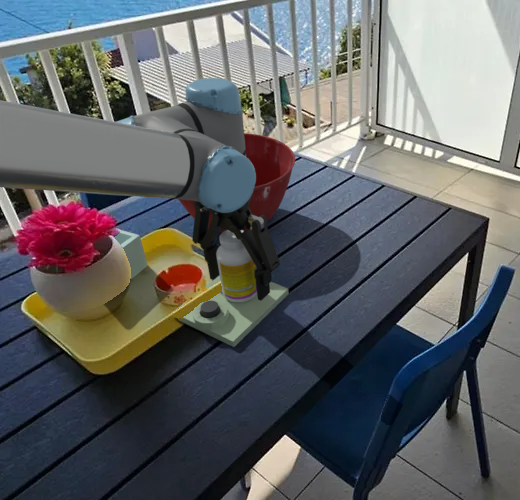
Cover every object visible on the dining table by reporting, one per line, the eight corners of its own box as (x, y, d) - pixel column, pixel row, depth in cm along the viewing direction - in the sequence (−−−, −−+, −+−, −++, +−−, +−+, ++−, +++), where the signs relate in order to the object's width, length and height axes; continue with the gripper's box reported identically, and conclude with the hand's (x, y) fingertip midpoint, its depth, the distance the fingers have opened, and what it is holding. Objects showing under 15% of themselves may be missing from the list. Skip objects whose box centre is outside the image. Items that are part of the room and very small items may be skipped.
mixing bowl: (322, 213, 120) (321, 154, 111) (233, 271, 101) (223, 205, 92) (240, 178, 133) (234, 123, 124) (148, 223, 115) (132, 162, 106)
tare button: (211, 320, 86) (209, 314, 85) (198, 314, 87) (196, 308, 86) (222, 310, 88) (221, 304, 87) (210, 304, 89) (208, 298, 88)
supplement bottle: (263, 298, 93) (257, 241, 85) (227, 308, 90) (218, 250, 83) (253, 277, 97) (246, 222, 90) (219, 286, 95) (209, 230, 88)
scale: (232, 349, 84) (230, 336, 82) (171, 319, 90) (168, 307, 88) (288, 294, 96) (287, 282, 94) (232, 270, 101) (230, 259, 99)
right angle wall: (102, 251, 106) (92, 221, 101) (147, 265, 102) (139, 235, 98) (55, 284, 96) (42, 253, 92) (103, 301, 93) (92, 269, 89)
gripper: (298, 188, 78) (302, 295, 91) (188, 154, 87) (206, 256, 100) (269, 209, 73) (278, 319, 86) (155, 171, 82) (179, 276, 95)
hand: (239, 285), depth 93 cm, fingers open, 10 cm apart
